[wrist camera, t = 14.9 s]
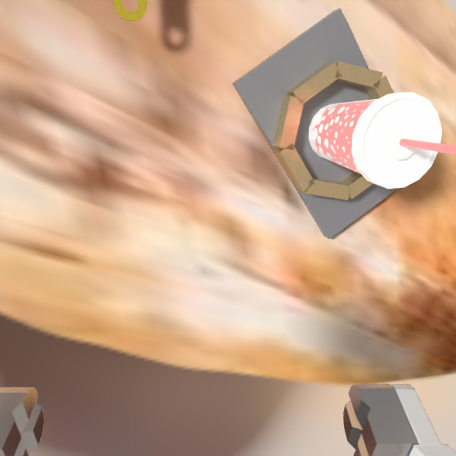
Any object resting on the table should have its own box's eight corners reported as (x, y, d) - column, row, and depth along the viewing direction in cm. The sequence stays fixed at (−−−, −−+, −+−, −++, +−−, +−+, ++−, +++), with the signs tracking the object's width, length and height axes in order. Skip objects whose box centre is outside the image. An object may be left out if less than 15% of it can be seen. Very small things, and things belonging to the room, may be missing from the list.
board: (232, 83, 33) (235, 83, 32) (334, 10, 33) (340, 8, 32) (324, 235, 39) (329, 239, 38) (409, 173, 39) (416, 174, 38)
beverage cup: (306, 176, 35) (413, 220, 22) (294, 103, 33) (404, 106, 20) (370, 157, 36) (508, 189, 23) (362, 86, 34) (509, 77, 21)
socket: (252, 115, 33) (258, 116, 31) (357, 40, 33) (368, 37, 32) (313, 216, 37) (321, 221, 35) (406, 148, 37) (418, 150, 36)
